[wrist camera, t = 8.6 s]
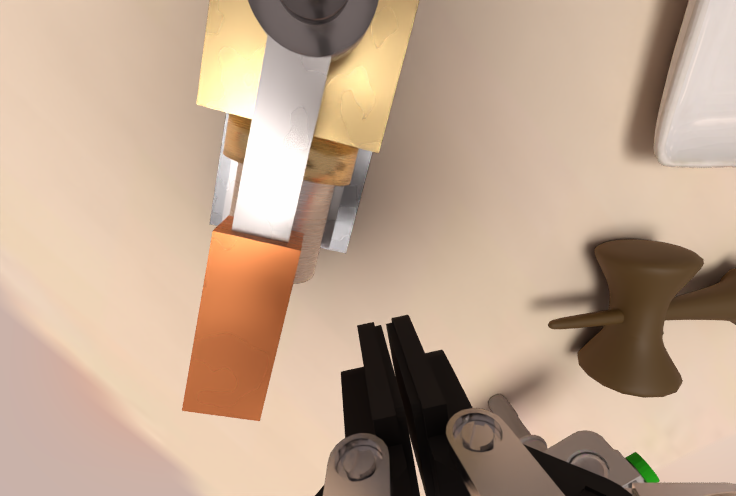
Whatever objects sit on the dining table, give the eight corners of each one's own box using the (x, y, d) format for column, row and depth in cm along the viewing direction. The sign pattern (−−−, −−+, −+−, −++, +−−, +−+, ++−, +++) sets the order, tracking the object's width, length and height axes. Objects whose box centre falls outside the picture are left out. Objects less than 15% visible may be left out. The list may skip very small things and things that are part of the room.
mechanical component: (434, 424, 30) (486, 563, 20) (545, 355, 29) (653, 466, 20) (452, 446, 31) (510, 589, 21) (560, 380, 30) (670, 497, 21)
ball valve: (280, -194, 17) (216, -686, 7) (440, -125, 19) (591, -441, 8) (216, 218, 23) (126, 299, 12) (344, 245, 24) (362, 339, 14)
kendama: (744, 330, 32) (519, 362, 29) (774, 217, 29) (528, 242, 26) (839, 373, 26) (570, 417, 23) (889, 238, 23) (589, 273, 21)
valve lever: (267, -91, 10) (253, -147, 8) (386, -44, 10) (402, -84, 8) (187, 372, 13) (164, 415, 11) (277, 386, 14) (270, 429, 12)
